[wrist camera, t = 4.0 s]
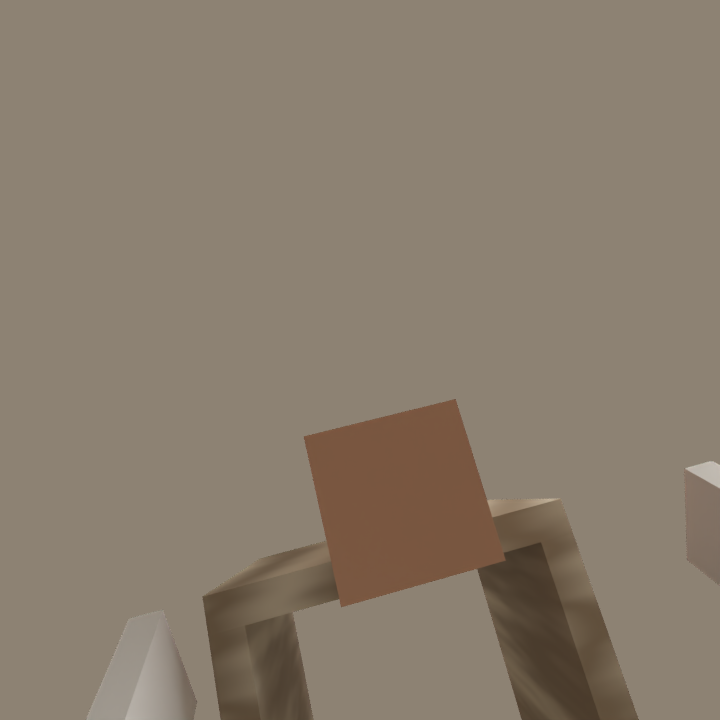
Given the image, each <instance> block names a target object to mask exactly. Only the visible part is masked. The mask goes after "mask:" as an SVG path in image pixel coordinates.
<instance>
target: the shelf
mask: <svg viewBox="0 0 720 720" xmlns="http://www.w3.org/2000/svg"><path fill="white" fill-rule="evenodd" d="M487 502H488V505H489V508H490V511H491V514H492V518H493V521H494V524H495V527H496V531H497V534H498V537H499V540H500V543H501V547H502V550H503V553H504V556H505V559H506V561H502V562H499V563H495V564H492V565H488V566H485V567H481V568H478V573H479V576H480V580H481V583H482V586H483V590H484V593H485V597H486V600H487V603H488V606H489V610H490V613H491V617H492V620H493V624H494V627H495V630H496V634H497V637H498V641H499V643H500V647H501V651H502V654H503V657H504V661H505V664H506V667H507V671H508V674H509V678H510V681H511V685H512V688H513V691H514V694H515V698H516V701H517V705H518V708H519V712H520V715H521V718H522V720H639V719H638V716H637V714H636V711H635V708H634V705H633V702H632V699H631V697H630V694H629V691H628V688H627V685H626V682H625V680H624V677H623V674H622V671H621V668H620V665H619V663H618V660H617V657H616V654H615V651H614V648H613V646H612V643H611V640H610V637H609V634H608V631H607V628H606V626H605V623H604V620H603V617H602V614H601V612H600V609H599V606H598V603H597V600H596V597H595V595H594V592H593V589H592V586H591V583H590V580H589V577H588V575H587V572H586V569H585V566H584V563H583V560H582V558H581V555H580V552H579V549H578V546H577V543H576V541H575V538H574V535H573V532H572V529H571V526H570V523H569V521H568V518H567V515H566V512H565V509H564V506H563V504H562V501H561V499H506V500H487ZM338 599H339V595H338V590H337V586H336V581H335V577H334V572H333V567H332V563H331V558H330V554H329V549H328V545H327V541H324V542H320V543H316V544H313V545H309V546H305V547H302V548H298V549H294V550H290V551H287V552H283V553H279V554H276V555H272V556H268V557H265V558H261V559H259V560H257V561H256V562H254V563H253V564H251V565H250V566H248V567H247V568H245V569H244V570H242V571H241V572H239V573H238V574H236V575H235V576H233V577H232V578H230V579H228V580H227V581H226V582H224V583H222V584H221V585H220V586H218V587H216V588H215V589H214V590H212V591H210V592H209V593H207V594H206V595H204V596H203V602H204V609H205V616H206V623H207V630H208V636H209V643H210V650H211V657H212V663H213V670H214V677H215V683H216V691H217V697H218V704H219V711H220V717H221V720H313V715H312V710H311V704H310V700H309V694H308V689H307V684H306V679H305V673H304V668H303V664H302V658H301V653H300V648H299V642H298V637H297V632H296V627H295V622H294V617H293V612H295V611H299V610H302V609H306V608H309V607H312V606H316V605H320V604H323V603H326V602H330V601H333V600H338Z"/></svg>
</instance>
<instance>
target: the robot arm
mask: <svg viewBox="0 0 720 720" xmlns="http://www.w3.org/2000/svg"><path fill="white" fill-rule="evenodd" d="M684 473H685V508H686V539H687V540H686V542H687V560H688V561H689V562H690V563H692V564H693V565H694V566H695V567H697V568H698V569H699V570H700V571H702V572H703V573H704V574H706V575H707V576H708V577H709V578H711V579H712V580H713V581H714V582H716V583H717V584H718V585H719V586H720V465H718V464H717V463H715V462H713V461H710V462H706V463H702V464H699V465H695V466H691V467H688V468H685V469H684ZM196 704H197V701H196V698H195V695H194V692H193V690H192V687H191V684H190V682H189V679H188V676H187V674H186V671H185V668H184V665H183V663H182V660H181V657H180V655H179V652H178V649H177V647H176V644H175V641H174V638H173V636H172V633H171V631H170V628H169V625H168V622H167V620H166V617H165V615H164V611H163V610H159V611H156V612H152V613H148V614H145V615H141V616H137V617H133V618H130V619H129V620H128V622H127V624H126V627H125V629H124V631H123V634H122V636H121V638H120V641H119V643H118V646H117V648H116V650H115V653H114V655H113V657H112V660H111V662H110V664H109V667H108V669H107V671H106V674H105V676H104V679H103V681H102V683H101V685H100V688H99V690H98V692H97V695H96V697H95V700H94V702H93V704H92V707H91V709H90V711H89V713H88V716H87V718H86V720H193V719H194V714H195V709H196Z"/></svg>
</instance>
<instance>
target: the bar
mask: <svg viewBox="0 0 720 720" xmlns="http://www.w3.org/2000/svg"><path fill="white" fill-rule="evenodd" d="M304 440H305V444H306V449H307V453H308V458H309V462H310V467H311V471H312V476H313V481H314V485H315V490H316V494H317V499H318V504H319V508H320V513H321V517H322V522H323V526H324V531H325V535H326V540H327V545H328V549H329V554H330V558H331V563H332V567H333V572H334V577H335V581H336V586H337V590H338V595H339V599H340V604H341V607H344V606H347V605H351V604H354V603H358V602H361V601H365V600H368V599H372V598H376V597H379V596H382V595H386V594H390V593H393V592H397V591H400V590H404V589H407V588H411V587H414V586H418V585H421V584H425V583H428V582H432V581H435V580H439V579H443V578H446V577H449V576H453V575H456V574H460V573H464V572H467V571H470V570H474V569H478V568H481V567H485V566H488V565H492V564H495V563H499V562H502V561H506V559H505V556H504V553H503V550H502V547H501V543H500V540H499V537H498V534H497V531H496V527H495V524H494V521H493V518H492V514H491V511H490V508H489V505H488V502H487V498H486V495H485V492H484V489H483V486H482V482H481V479H480V476H479V473H478V470H477V467H476V463H475V460H474V457H473V453H472V450H471V447H470V444H469V441H468V438H467V434H466V431H465V428H464V425H463V422H462V418H461V415H460V412H459V409H458V405H457V402H456V399H454V400H450V401H446V402H442V403H438V404H434V405H430V406H426V407H422V408H418V409H414V410H409V411H405V412H401V413H397V414H393V415H390V416H385V417H381V418H377V419H373V420H369V421H365V422H361V423H357V424H353V425H349V426H345V427H341V428H337V429H332V430H329V431H324V432H320V433H317V434H312V435H308V436H304Z"/></svg>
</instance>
